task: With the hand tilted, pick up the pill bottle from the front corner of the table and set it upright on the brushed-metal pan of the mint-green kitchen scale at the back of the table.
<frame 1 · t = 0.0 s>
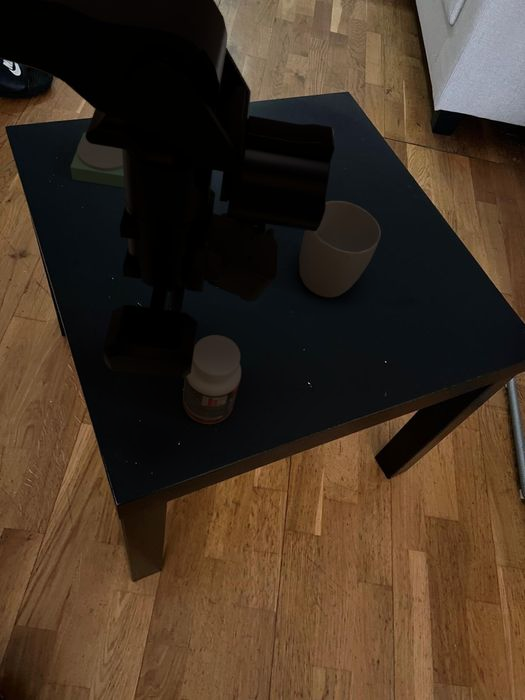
hand: (164, 328, 50), 12 cm above the table, tool pointing down, fingers open, 9 cm apart
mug: (328, 271, 75), on the table
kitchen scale: (106, 166, 78), on the table
pill bottle: (207, 403, 60), on the table
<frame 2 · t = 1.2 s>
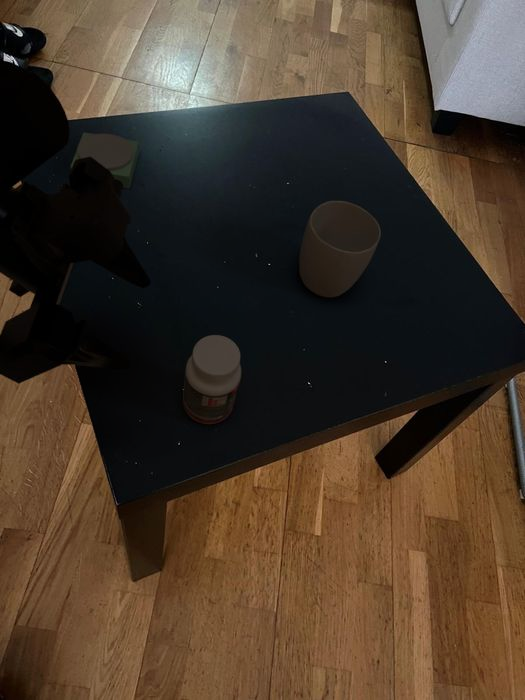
hand: (138, 323, 49), 13 cm above the table, tool tilted 45°, fingers open, 9 cm apart
nothing on the table moved.
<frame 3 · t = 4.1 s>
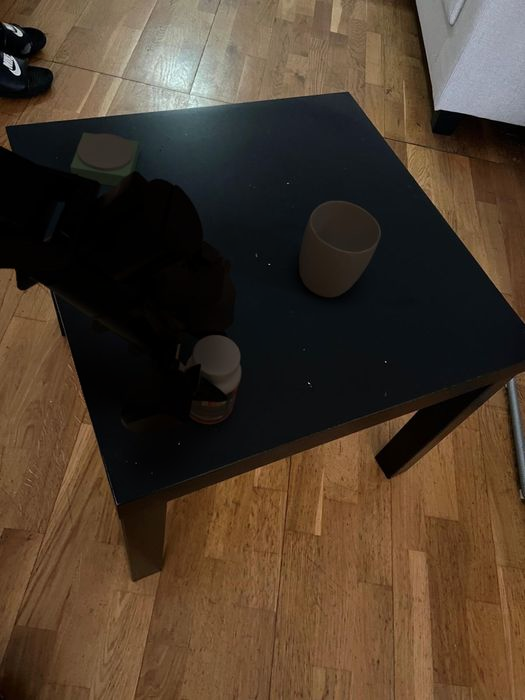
hand: (227, 374, 55), 7 cm above the table, tool tilted 45°, fingers closed on pill bottle, 6 cm apart
pill bottle: (208, 403, 60), on the table, touching gripper
everything else where it was.
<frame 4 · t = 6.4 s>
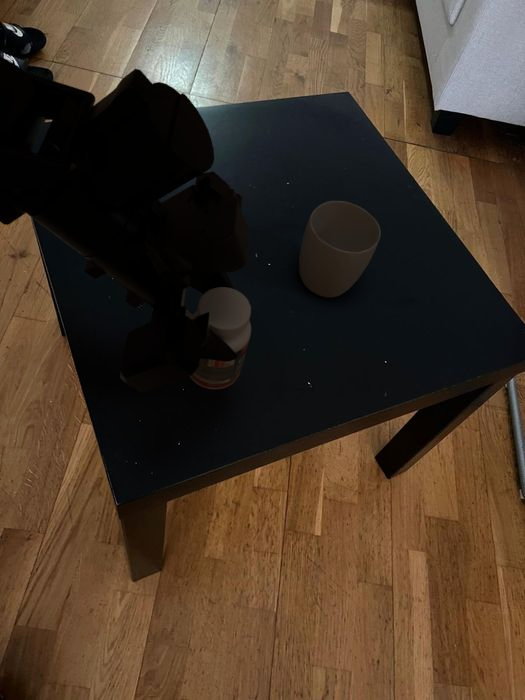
hand: (235, 331, 50), 13 cm above the table, tool tilted 45°, fingers closed on pill bottle, 6 cm apart
pill bottle: (212, 367, 55), point 6 cm above the table, touching gripper
everything else where it was.
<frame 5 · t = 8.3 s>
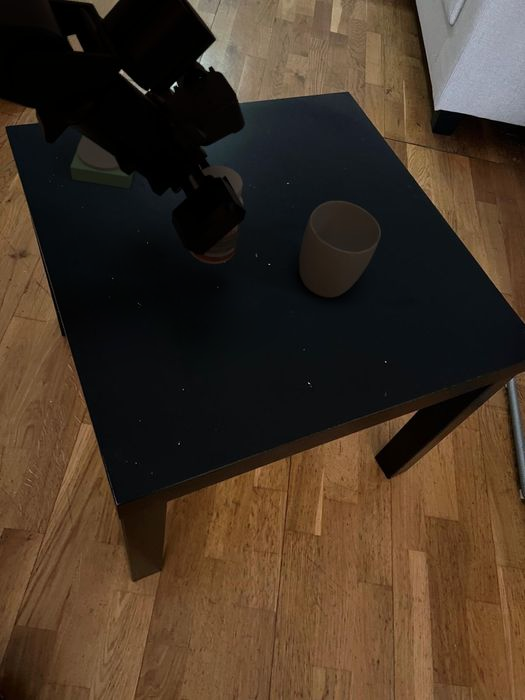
hand: (228, 203, 59), 13 cm above the table, tool tilted 45°, fingers closed on pill bottle, 6 cm apart
pill bottle: (211, 248, 64), point 7 cm above the table, touching gripper
everything else where it was.
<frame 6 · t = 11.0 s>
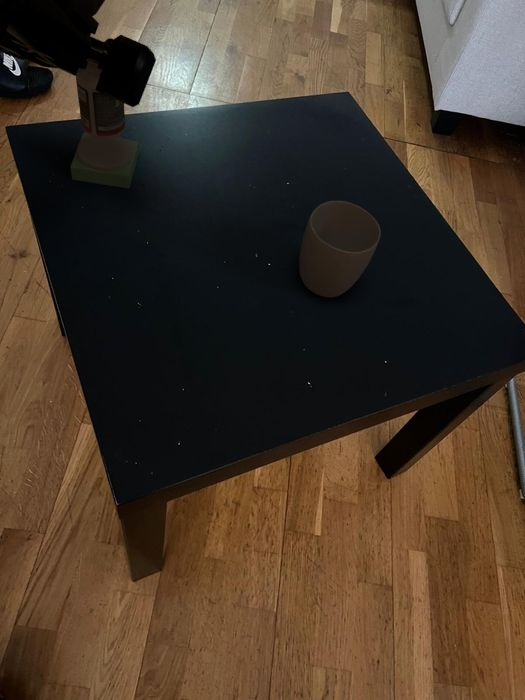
hand: (106, 76, 68), 13 cm above the table, tool tilted 45°, fingers closed on pill bottle, 6 cm apart
pill bottle: (103, 128, 73), point 6 cm above the table, touching gripper
everything else where it was.
when the fingers open (9 cm above the table, at t = 12.9 s): pill bottle stays where it is, resting on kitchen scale.
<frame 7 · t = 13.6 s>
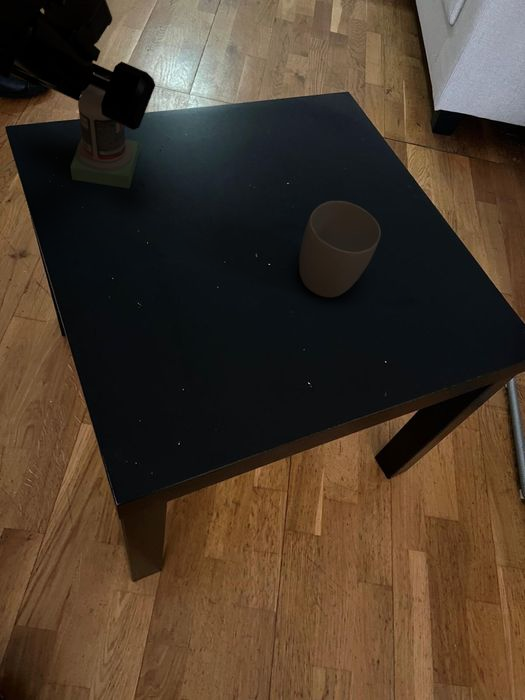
hand: (107, 96, 71), 10 cm above the table, tool tilted 45°, fingers open, 9 cm apart
pill bottle: (104, 151, 76), point 3 cm above the table, touching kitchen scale
everything else where it was.
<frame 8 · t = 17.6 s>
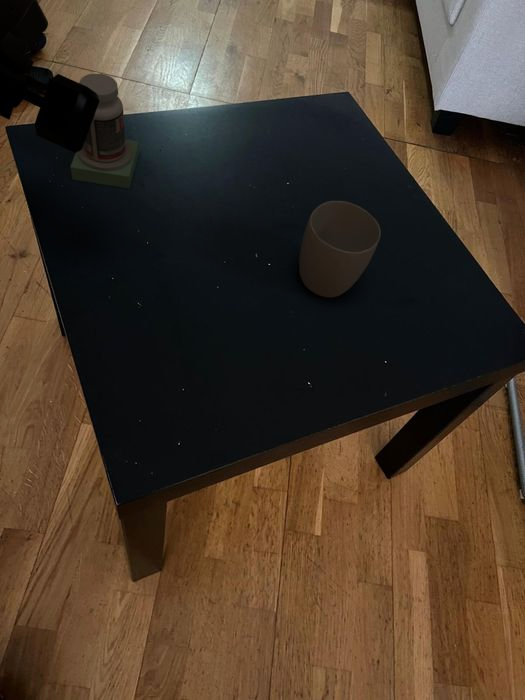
hand: (52, 112, 62), 14 cm above the table, tool tilted 45°, fingers open, 9 cm apart
nothing on the table moved.
at the end: pill bottle 0.1 cm off-centre on the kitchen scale, point 2.6 cm above the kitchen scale's base; pill bottle tilted 0°; the gripper is holding nothing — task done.
